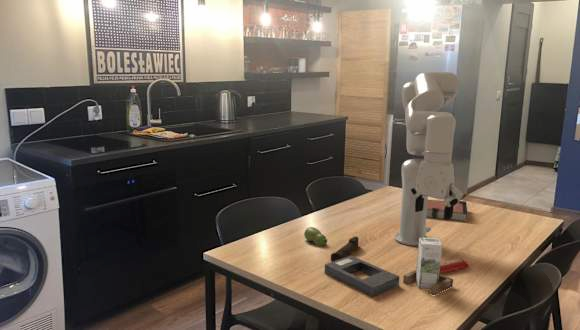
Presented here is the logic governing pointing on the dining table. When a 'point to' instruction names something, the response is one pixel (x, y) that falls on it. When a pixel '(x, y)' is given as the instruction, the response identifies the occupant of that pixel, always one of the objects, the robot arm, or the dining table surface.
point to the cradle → (441, 286)
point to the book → (437, 208)
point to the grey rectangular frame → (370, 285)
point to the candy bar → (452, 265)
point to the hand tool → (345, 249)
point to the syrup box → (428, 262)
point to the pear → (315, 236)
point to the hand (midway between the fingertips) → (432, 215)
